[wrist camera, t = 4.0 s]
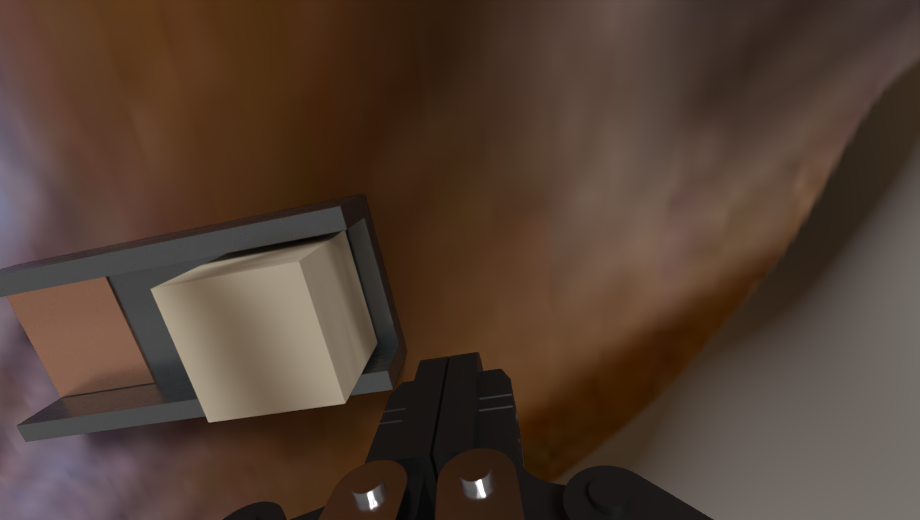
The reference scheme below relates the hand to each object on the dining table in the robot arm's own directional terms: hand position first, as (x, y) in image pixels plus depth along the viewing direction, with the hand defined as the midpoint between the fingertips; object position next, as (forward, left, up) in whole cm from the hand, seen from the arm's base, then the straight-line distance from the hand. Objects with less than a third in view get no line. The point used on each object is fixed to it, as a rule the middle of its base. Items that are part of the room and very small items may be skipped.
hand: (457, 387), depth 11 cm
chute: (+15, 0, -11) cm, 18 cm away
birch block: (+9, 0, -10) cm, 13 cm away
